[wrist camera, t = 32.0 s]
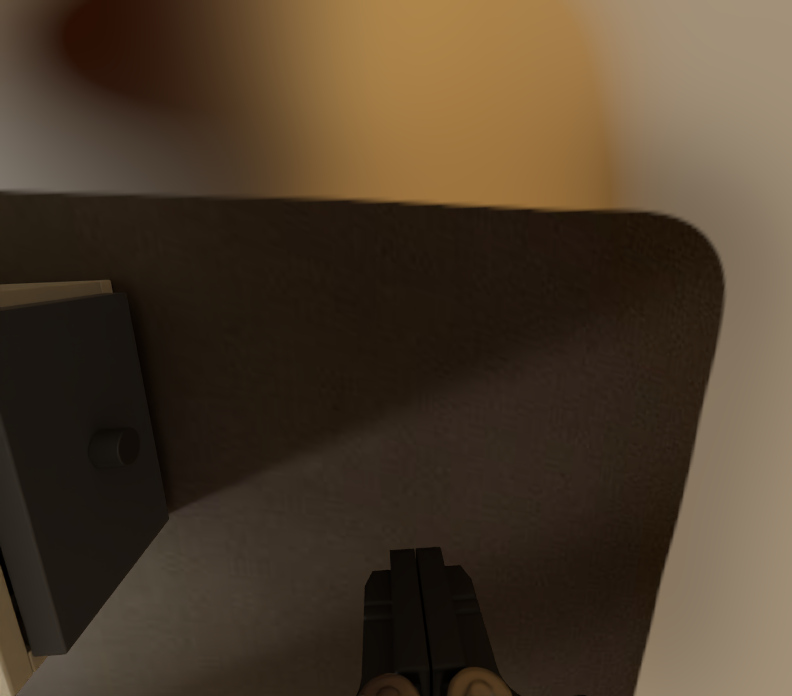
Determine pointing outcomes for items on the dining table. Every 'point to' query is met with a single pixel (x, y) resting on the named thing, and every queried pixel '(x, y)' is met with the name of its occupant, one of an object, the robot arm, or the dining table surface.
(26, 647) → the cream drawer box
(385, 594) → the robot arm
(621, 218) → the dining table surface
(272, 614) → the dining table surface
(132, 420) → the two-tone hollow box
